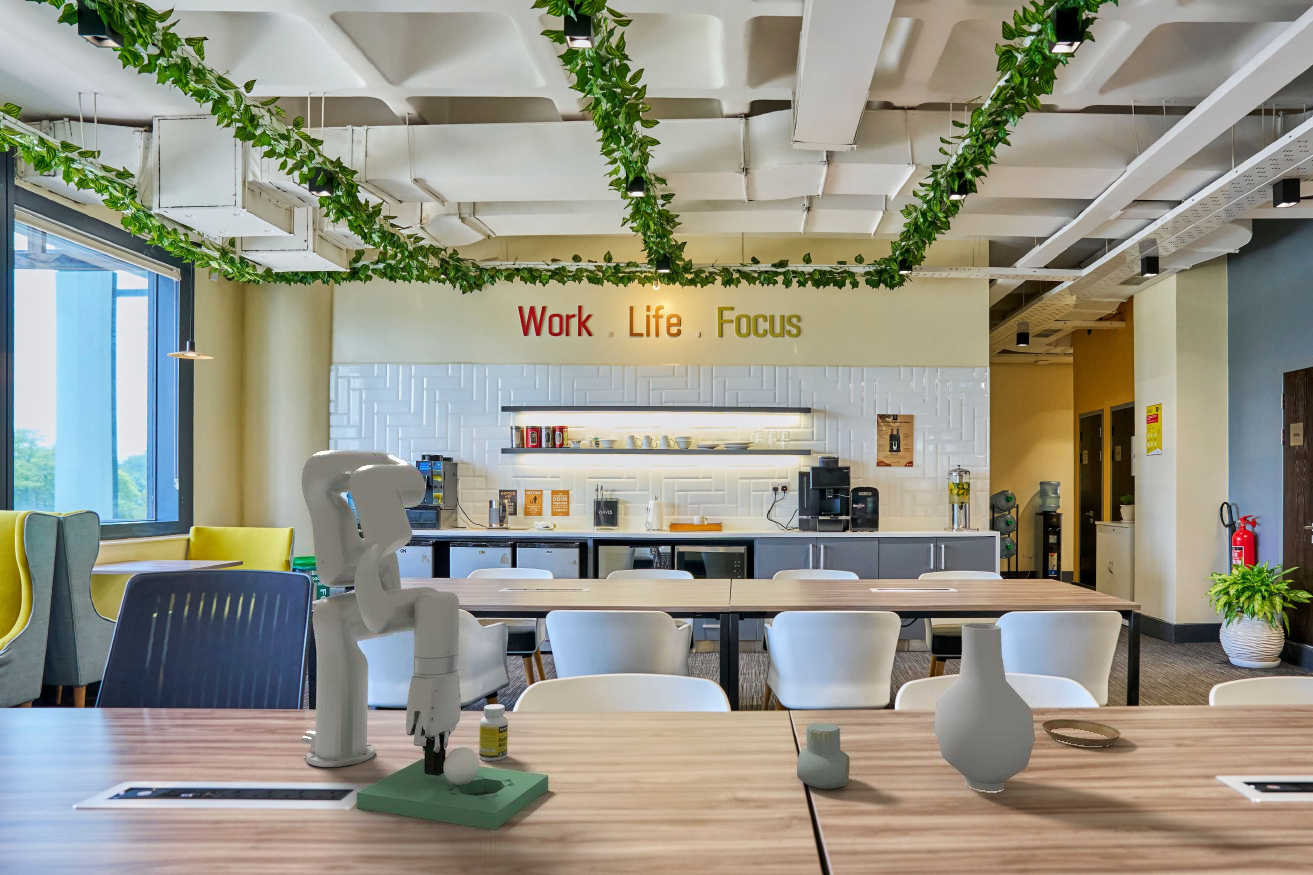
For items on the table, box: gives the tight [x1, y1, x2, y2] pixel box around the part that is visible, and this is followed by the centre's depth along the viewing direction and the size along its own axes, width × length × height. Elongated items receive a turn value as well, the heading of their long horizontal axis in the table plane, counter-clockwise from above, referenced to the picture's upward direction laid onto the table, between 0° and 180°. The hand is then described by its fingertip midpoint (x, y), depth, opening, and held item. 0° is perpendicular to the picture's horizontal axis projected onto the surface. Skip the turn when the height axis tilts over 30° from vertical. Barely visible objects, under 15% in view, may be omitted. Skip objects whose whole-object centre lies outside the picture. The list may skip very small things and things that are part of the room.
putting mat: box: [356, 758, 549, 831], centre depth 141 cm, size 26×18×2 cm
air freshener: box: [796, 722, 851, 790], centre depth 149 cm, size 11×8×10 cm
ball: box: [443, 746, 481, 785], centre depth 141 cm, size 6×6×6 cm
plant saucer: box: [1041, 718, 1122, 747], centre depth 174 cm, size 15×15×3 cm
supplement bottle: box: [478, 703, 509, 762], centre depth 163 cm, size 5×5×10 cm
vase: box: [934, 622, 1036, 791], centre depth 148 cm, size 17×16×28 cm
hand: (434, 773), depth 143 cm, fingers closed
